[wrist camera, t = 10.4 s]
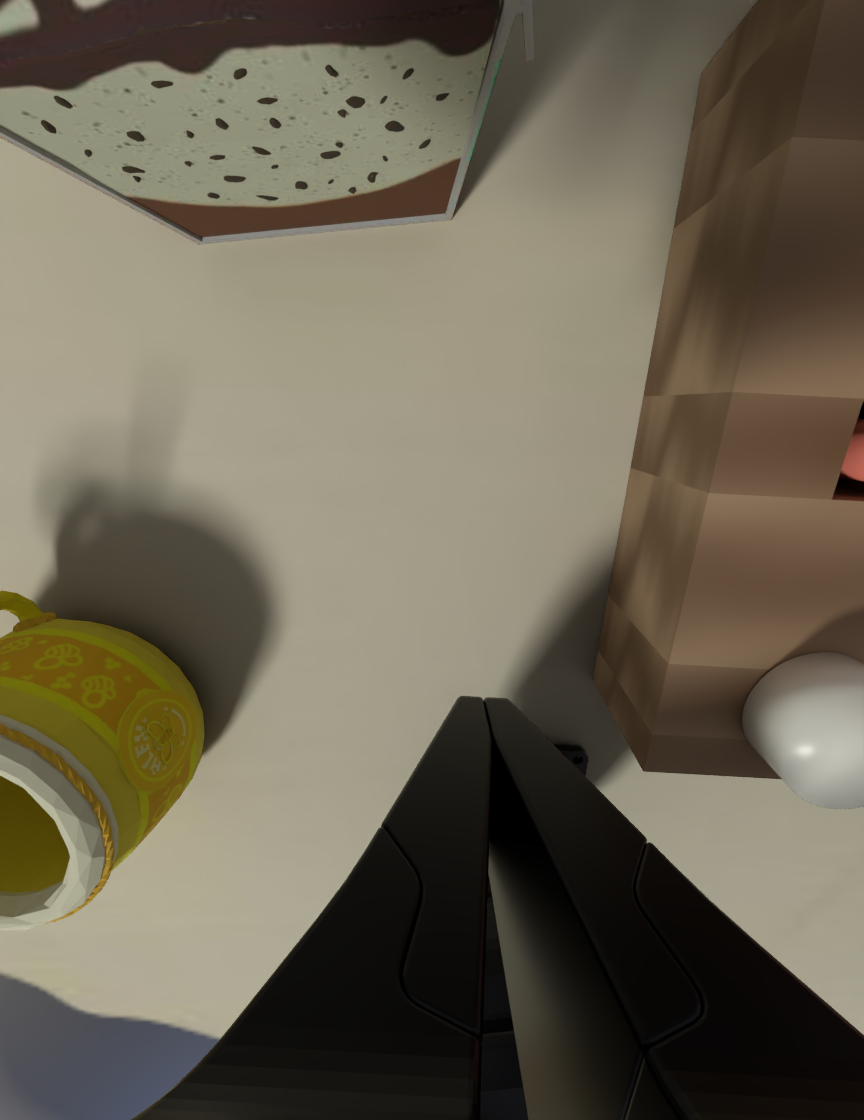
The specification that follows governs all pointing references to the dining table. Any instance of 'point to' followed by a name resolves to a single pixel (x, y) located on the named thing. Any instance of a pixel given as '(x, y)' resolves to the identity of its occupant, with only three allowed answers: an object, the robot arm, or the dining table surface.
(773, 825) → the dining table surface
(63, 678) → the mug
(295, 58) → the food container
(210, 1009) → the dining table surface
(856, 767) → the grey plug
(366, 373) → the dining table surface
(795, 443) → the walnut plug block
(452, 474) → the dining table surface
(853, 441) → the salmon round-head knob
